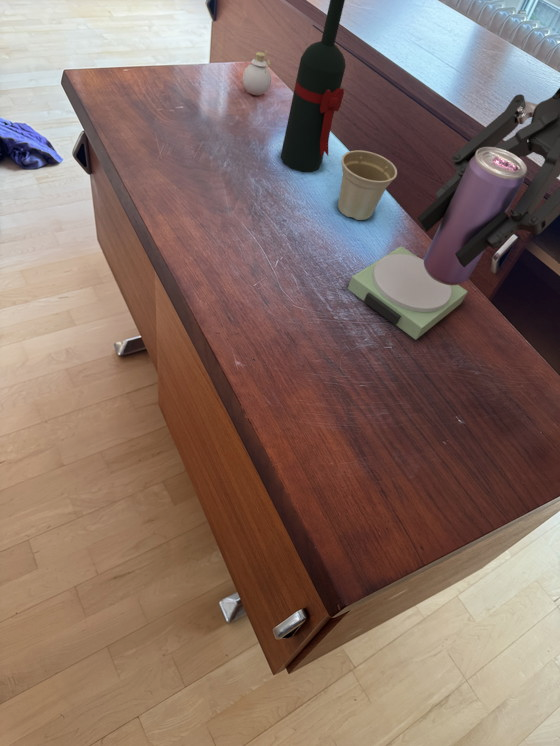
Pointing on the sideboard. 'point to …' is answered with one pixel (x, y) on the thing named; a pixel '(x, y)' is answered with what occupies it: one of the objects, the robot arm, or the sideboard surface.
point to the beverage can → (473, 211)
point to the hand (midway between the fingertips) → (440, 242)
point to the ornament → (257, 75)
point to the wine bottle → (315, 98)
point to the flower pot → (363, 182)
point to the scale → (405, 292)
